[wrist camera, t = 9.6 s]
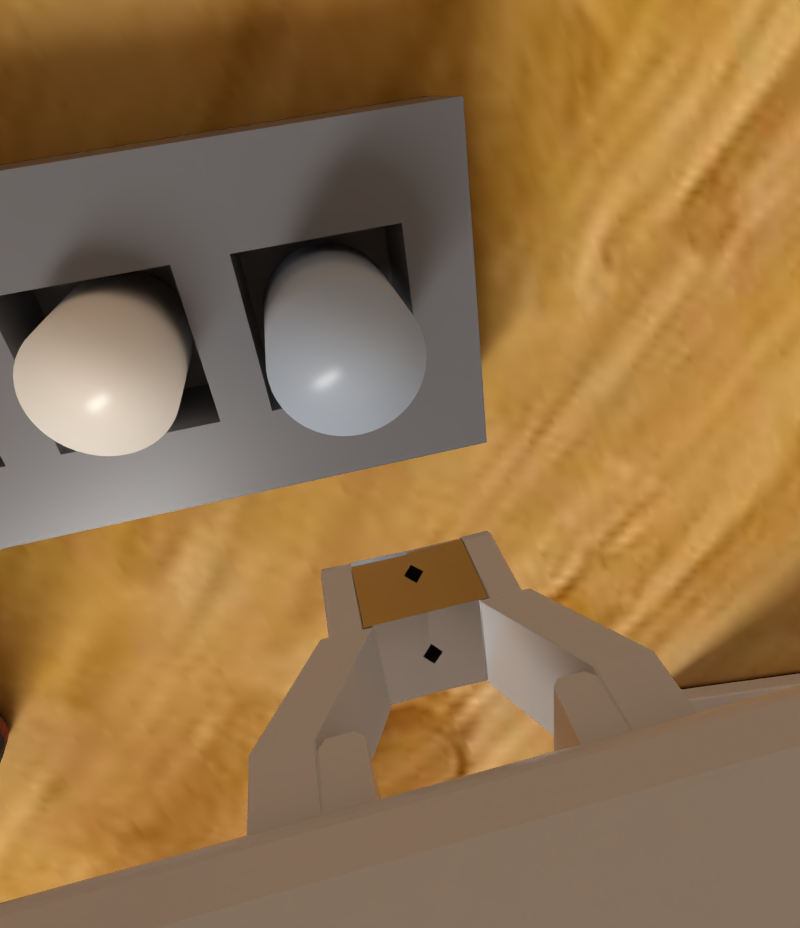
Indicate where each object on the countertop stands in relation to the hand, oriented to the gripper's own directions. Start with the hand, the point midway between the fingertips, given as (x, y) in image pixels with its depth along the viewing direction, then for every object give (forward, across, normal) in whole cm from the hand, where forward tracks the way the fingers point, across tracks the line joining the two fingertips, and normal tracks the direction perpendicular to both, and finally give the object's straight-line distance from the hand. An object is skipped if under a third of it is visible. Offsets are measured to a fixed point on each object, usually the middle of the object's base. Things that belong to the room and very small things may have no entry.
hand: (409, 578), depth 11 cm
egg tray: (+19, -8, 0) cm, 20 cm away
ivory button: (+18, -8, 0) cm, 20 cm away
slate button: (+16, 0, 0) cm, 16 cm away
